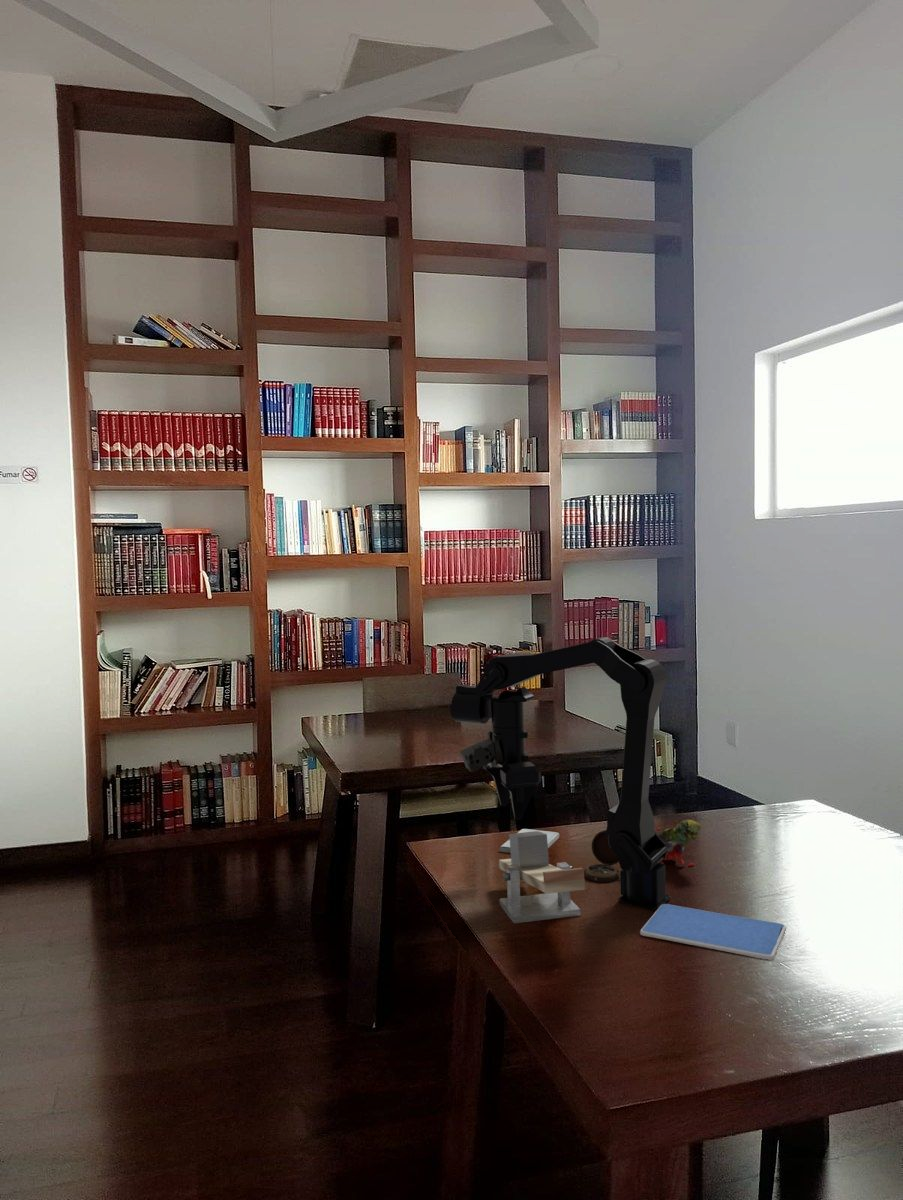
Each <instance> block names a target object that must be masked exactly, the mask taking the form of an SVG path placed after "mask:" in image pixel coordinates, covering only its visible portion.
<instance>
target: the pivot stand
mask: <svg viewBox="0 0 903 1200" xmlns="http://www.w3.org/2000/svg"><path fill="white" fill-rule="evenodd" d="M556 867H558V868H560V869H562V870H565V869H574V866H573V865H570V864H568V863H567V862H566V861H565V862H556ZM502 880H503V882H507V883H506V888H507V889H506V890H507V893H506V894H507V897H503V898H499V906H500V905H501V906H500V907H501V908H502V909H503V911H504V912H505V913H506V915H507V917H509V919H510V920H511V922H512V923H513V924H520V923H529V922H536V921H537V922H538V921H546V920H553V919H563V918H568V917H577V916H579V917H580V916H581V908H579V906H578V905H577V904H576V903H575V902H574V901H573V900H572V899H571V891H568V892H559V893H550V894H546V893H539V894H529V895H521V883H520V882H521V880H520V872H519V870H518V869H517V868H507V872H505V873H502Z"/></svg>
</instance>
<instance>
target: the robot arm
mask: <svg viewBox="0 0 903 1200" xmlns="http://www.w3.org/2000/svg"><path fill="white" fill-rule="evenodd" d="M593 663H594V664H595V665H597V666H598V667H599V668H600V669H601V670H602V671H603V672H604V673H605V674H606V675H607V676H608V677H609V679H611V680H612V681H614V682H615V683H617V684H619V686H620V687H619V688H620V699H621V703H622V705H623V708H624V711H625V714H626V715H625V717H626V720H625V723H626V724H625V734H624V735H625V737H624V746H623V747H624V748H623V760H622V761H623V762H622V774H621V775H622V777H621V788H620V790H621V791H620V800H619V802H618V803H617V804H615V805H614V806H612V807H611V808H610V809H608V810H607V811H606V823H607V824H606V825H607V826H606V829H605V830H606V832H605V834H604V835H605V836H606V835H608V843H609V846H610V848H612V850H613V851H614V852H615V853H616V856H617V858H618V861H619V862H618V863H619V866H620V868H621V870H619V873H620V876H619V883H620V885H619V888H620V889H619V890H620V893H619V894H620V895H621V896H619V897H618V898H617V902H618V903H619V904H620V903H621V904H624V905H627V906H628V905H629V906H633V907H638V908H642V909H645V910H649V911H656V910H657V909H658V908H659V907H660V906H661V905H662V904H666V903H667V902H668V901H669V900H671V895H669V894H666V892H667V891H666V890H667V889H666V884H667V883H666V864H665V863H664V864H661V863H660V862H663V861H662V860H663V859H665V857H666V855H667V852H668V849H669V847H668V846H667V845H666V844H665V843H664V841H663V840H662V839H661V838H660V837H659V836H658V835H659V834H658V833H657V832H656V831H655V822H654V821H655V820H654V814H653V811H652V808H651V803H650V801H649V793H650V781H651V766H652V755H653V744H654V730H655V728H654V727H655V718H656V713H657V712H658V710H659V707H660V704H661V702H662V700H663V697H664V693H665V690H666V686H667V681H668V672H667V670H666V668H665V667H664V666H663V665H662V664H661V663H660V662H659V661H657V660H655V659H652V658H651V659H650V658H649V659H648V658H645V657H643V656H642V655H640V654H639V653H636V652H635V651H634V650H631V649H628V648H626V647H624V646H623V645H621V644H618V643H617V642H616V641H614V640H612V639H611V638H610V637H607V636H606V637H605V636H604V637H603V636H602V637H599V638H594V639H591V640H590V641H588V642H583V643H578V644H574V645H570V646H567V647H565V646H564V647H562V648H556V649H552V650H547V651H544V652H534V653H533V652H519V653H517V652H514V653H508V654H503V655H498V656H494V657H492V658H490V659H489V660H487V663H486V666H485V670H484V674H483V676H482V677H481V679H480V680H479V682H478V683H477V685H475V686H474V685H469V684H459V685H456V686H455V693H454V694H453V697H452V699H451V704H450V705H449V711H450V716H451V718H452V720H453V721H454V722H456V723H469V724H483V725H484V724H485V725H486V724H487V723H488V722H489V720H490V719H491V729H489V730H488V732H487V739H484V740H482V741H479V742H476V743H474V744H472V745H470V746H468V747H465V748H463V749H462V750H460V752H459V753H460V755H461V758H462V762H463V763H464V765H465V768H466V769H467V770H468V771H469V772H470V773H472V772H477V771H478V770H479V769H480V768H482V767H483V769H484V770H486V771H487V772H488V773H489V774H490V775H491V776H492V779H493V783H494V786H495V790H496V793H497V797H498V799H499V804H500V806H501V807H507V806H508V804H509V800H510V802H511V807H512V813H513V817H514V820H516V821H518V820H519V821H521V820H522V818H523V816H524V814H525V811H526V808H527V807H528V804H529V803H530V799H531V798H532V795H533V793H534V792H535V790H536V787H538V786H539V783H540V782H542V770H541V769H540V768H538V767H537V766H536V765H535V764H534V763H532V762H531V761H529V754H527V753H526V749H525V747H526V746H525V745H526V743H525V742H526V741H525V739H528V737H529V734H528V732H527V731H526V730H525V715H524V713H525V712H524V703H527V702H530V701H533V700H534V699H535V697H536V696H535V695H534V694H532V692H530V691H529V690H528V689H527V686H521V687H519V688H518V689H517V690H507V689H508V688H511V687H514V686H517V685H521V684H522V683H525V682H527V681H530V680H532V679H534V678H536V677H539V676H541V675H543V674H549V673H552V672H553V673H554V672H558V671H562V670H566V669H571V668H576V667H580V666H585V665H591V664H593ZM504 689H505V690H504ZM502 690H503V691H502ZM498 691H501V692H500V694H493V693H495V692H498Z"/></svg>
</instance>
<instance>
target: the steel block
mask: <svg viewBox="0 0 903 1200" xmlns="http://www.w3.org/2000/svg"><path fill="white" fill-rule="evenodd" d="M508 835H509V839H510V851H511V853H510V859H511V864H512V865H514V866H516V867H518V868H520V869H521V868H530V867H540V866H549V864H550V860H549V859H550V858H549V848H548V843H547V834H544V833H541V832H538V831H534V832H524V833H518V832H516V833H515V832H514V833H509V834H508Z"/></svg>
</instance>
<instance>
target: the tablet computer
mask: <svg viewBox="0 0 903 1200" xmlns="http://www.w3.org/2000/svg"><path fill="white" fill-rule="evenodd" d="M786 929H787V926H786V925H785V924H783V923H780V922H773V921H767V920H762V919H756V918H755V919H754V918H749V917H744V916H738V915H731V914H726V913H725V914H724V913H719V912H715V911H714V912H713V911H709V910H708V911H707V910H702V909H697V908H692V907H686V906H681V905H680V906H679V905H675V904H669V903H664V904H662V905H661V906H659V907H658V908H656V910H655V912H654V913H653V914H652V916H651V917H650V918H649V919H648V920H647V921H646V923H645V924H644V925H643V926H642V927H641V929H640V931H639V934H640V936H643V937H647V938H654V939H659V940H664V941H670V942H675V943H680V944H685V945H689V946H690V945H691V946H695V947H700V948H706V949H710V950H715V951H716V950H717V951H721V952H726V953H732V954H735V955H742V956H745V957H751V958H755V959H756V958H757V959H760V958H761V959H760V960H765V959H768V960H767V961H773V960H774V959H775V958H776V956H775V955H776V954H777V953H778V951H779V948H780V946H781V944H782V942H781V940H782V941H783V940H784V937H783V936H785V935H786V933H785V931H786ZM786 932H787V931H786ZM784 934H785V935H784ZM780 943H781V944H780ZM779 945H780V946H779ZM778 947H779V948H778ZM777 950H778V951H777ZM772 959H773V960H772Z"/></svg>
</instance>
